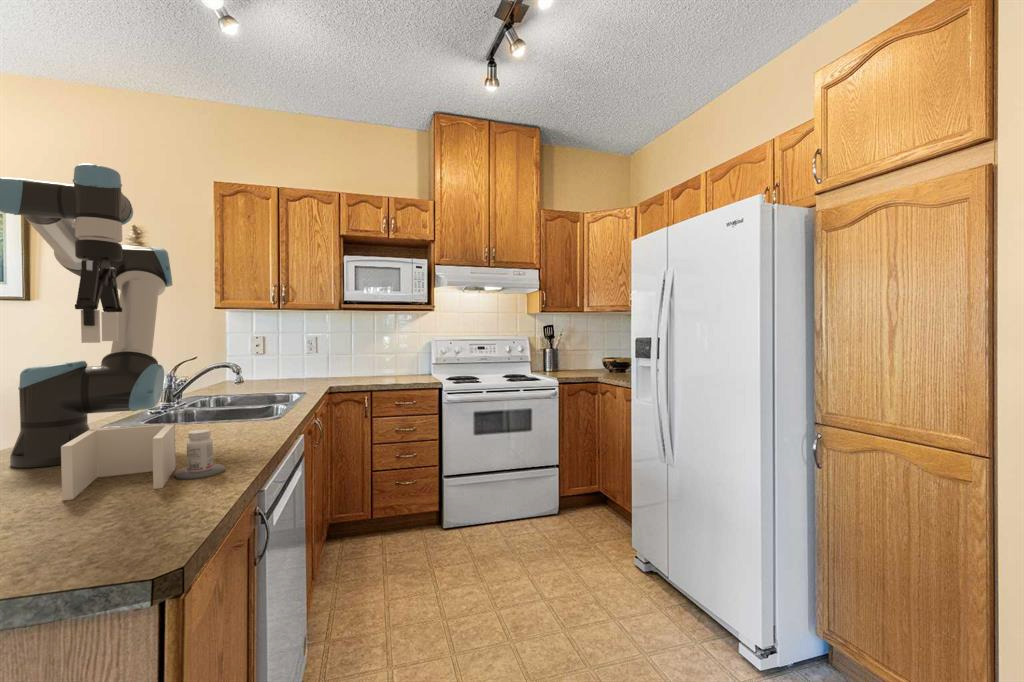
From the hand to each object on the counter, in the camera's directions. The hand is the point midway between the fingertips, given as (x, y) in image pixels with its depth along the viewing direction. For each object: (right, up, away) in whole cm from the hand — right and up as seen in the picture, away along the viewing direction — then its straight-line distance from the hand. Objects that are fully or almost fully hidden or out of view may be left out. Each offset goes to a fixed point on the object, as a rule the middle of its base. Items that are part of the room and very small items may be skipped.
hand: (101, 342), depth 100 cm
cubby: (+8, -29, -3) cm, 30 cm away
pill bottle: (+19, -28, +3) cm, 34 cm away
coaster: (+19, -29, +3) cm, 35 cm away
